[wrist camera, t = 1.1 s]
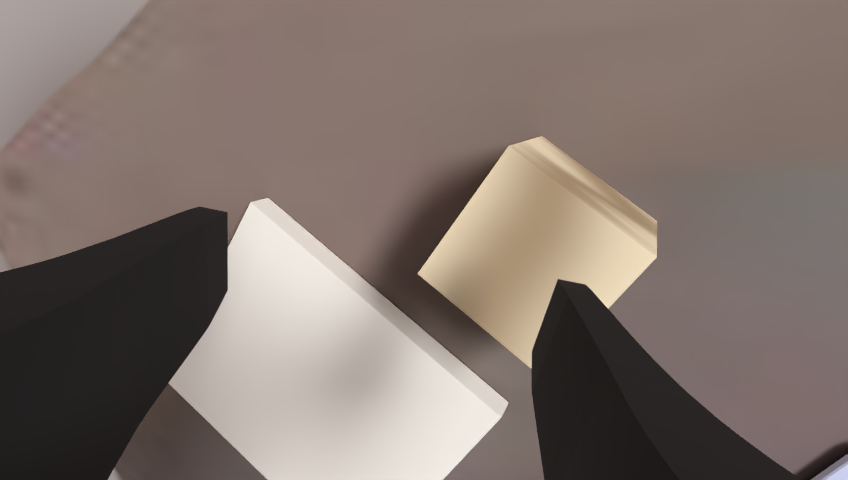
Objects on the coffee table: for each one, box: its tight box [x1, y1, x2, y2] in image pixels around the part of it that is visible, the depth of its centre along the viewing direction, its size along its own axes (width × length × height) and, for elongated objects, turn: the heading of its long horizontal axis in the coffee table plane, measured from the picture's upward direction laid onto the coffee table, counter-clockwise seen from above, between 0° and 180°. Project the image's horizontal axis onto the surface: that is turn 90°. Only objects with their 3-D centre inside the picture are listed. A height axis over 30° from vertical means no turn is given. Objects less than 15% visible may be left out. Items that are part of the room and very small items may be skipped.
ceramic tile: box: [169, 198, 509, 480], centre depth 26 cm, size 14×12×1 cm
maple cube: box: [418, 136, 657, 369], centre depth 18 cm, size 5×5×5 cm
